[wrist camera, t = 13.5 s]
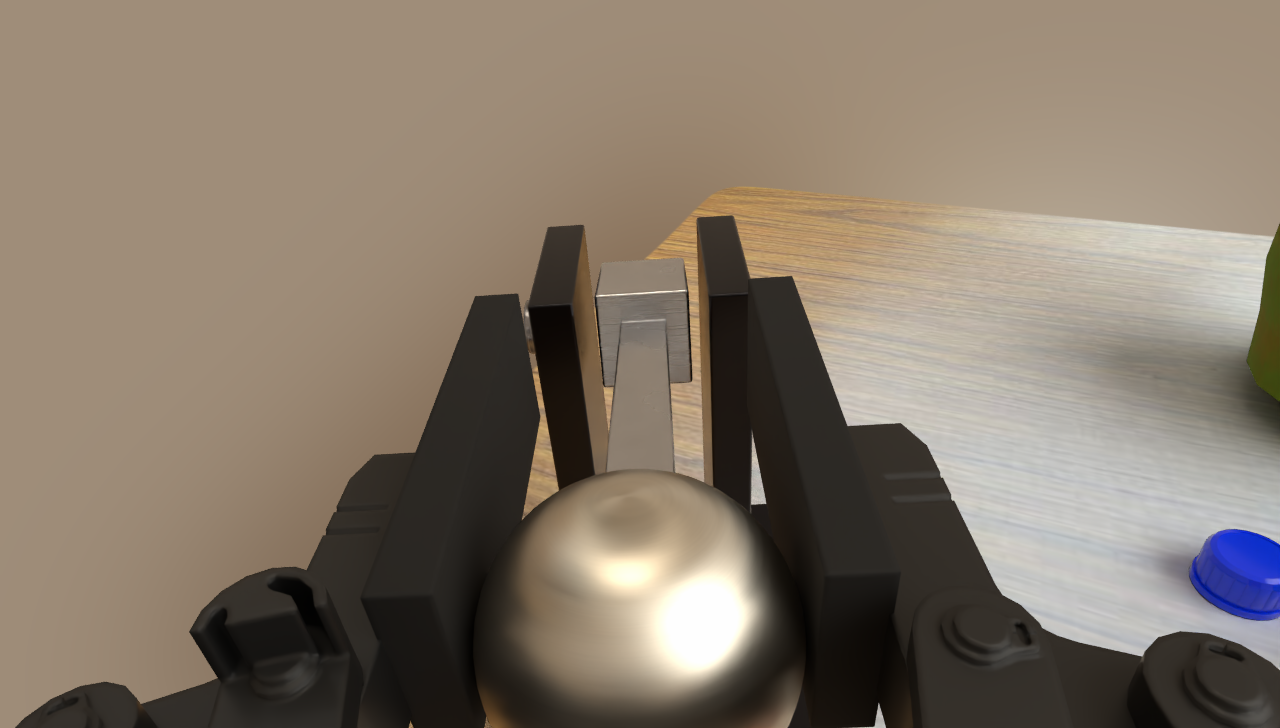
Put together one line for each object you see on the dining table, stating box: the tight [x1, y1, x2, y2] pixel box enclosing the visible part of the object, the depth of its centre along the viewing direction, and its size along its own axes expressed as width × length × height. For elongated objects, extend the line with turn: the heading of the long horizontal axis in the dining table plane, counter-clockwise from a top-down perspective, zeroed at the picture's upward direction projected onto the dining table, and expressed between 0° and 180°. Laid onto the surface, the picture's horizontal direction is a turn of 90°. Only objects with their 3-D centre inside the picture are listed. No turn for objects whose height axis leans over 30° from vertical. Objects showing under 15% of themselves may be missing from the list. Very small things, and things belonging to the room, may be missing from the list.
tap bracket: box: [524, 216, 811, 728], centre depth 23 cm, size 12×10×16 cm
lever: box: [473, 258, 806, 728], centre depth 14 cm, size 14×4×4 cm, turn 0°
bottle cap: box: [1189, 529, 1280, 620], centre depth 27 cm, size 3×3×2 cm
